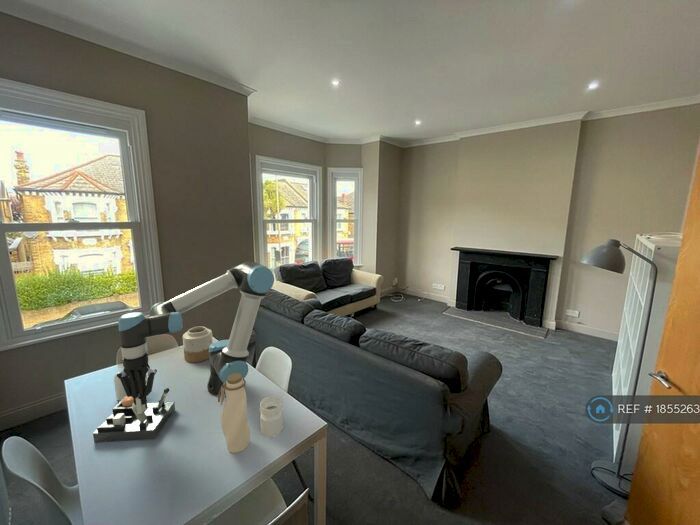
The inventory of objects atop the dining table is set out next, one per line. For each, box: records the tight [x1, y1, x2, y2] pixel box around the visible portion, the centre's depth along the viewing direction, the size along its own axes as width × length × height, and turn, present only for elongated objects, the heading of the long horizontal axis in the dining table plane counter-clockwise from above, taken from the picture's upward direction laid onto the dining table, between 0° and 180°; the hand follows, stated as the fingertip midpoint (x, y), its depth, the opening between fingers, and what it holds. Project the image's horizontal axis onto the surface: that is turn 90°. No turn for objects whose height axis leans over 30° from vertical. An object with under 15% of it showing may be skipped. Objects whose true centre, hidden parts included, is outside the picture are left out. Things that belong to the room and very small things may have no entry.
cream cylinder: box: [259, 395, 284, 438], centre depth 114 cm, size 9×9×12 cm
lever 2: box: [157, 387, 170, 408], centre depth 119 cm, size 2×3×8 cm
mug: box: [113, 371, 148, 402], centre depth 133 cm, size 12×9×11 cm
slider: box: [113, 413, 125, 425], centre depth 109 cm, size 2×3×4 cm
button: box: [122, 396, 134, 407], centre depth 118 cm, size 5×5×4 cm
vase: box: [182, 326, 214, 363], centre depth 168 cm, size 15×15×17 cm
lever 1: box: [132, 403, 148, 423], centre depth 109 cm, size 2×3×8 cm
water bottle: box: [217, 373, 251, 454], centre depth 104 cm, size 10×9×28 cm
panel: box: [92, 396, 176, 444], centre depth 115 cm, size 21×16×8 cm
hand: (141, 411), depth 109 cm, fingers closed
